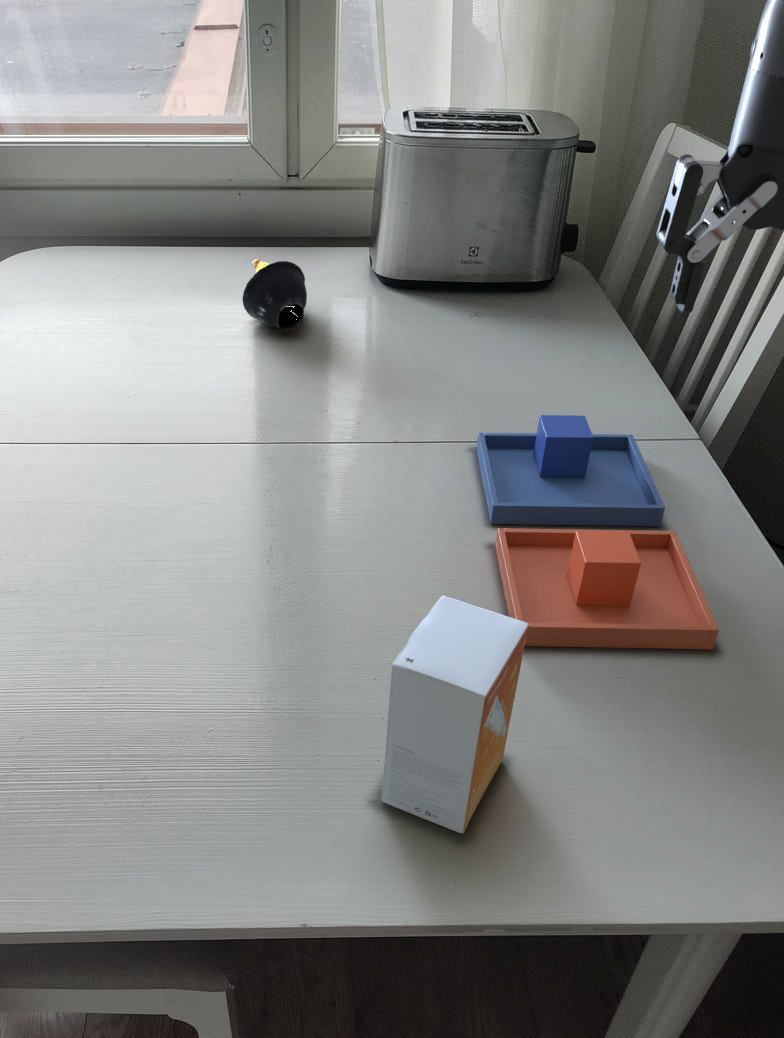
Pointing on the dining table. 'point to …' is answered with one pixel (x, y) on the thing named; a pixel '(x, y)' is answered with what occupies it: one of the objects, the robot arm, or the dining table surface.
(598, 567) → the clay block
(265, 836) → the dining table surface
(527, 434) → the blue tray
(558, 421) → the blue block
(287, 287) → the fried shrimp in bowl
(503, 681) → the small box
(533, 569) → the clay tray
